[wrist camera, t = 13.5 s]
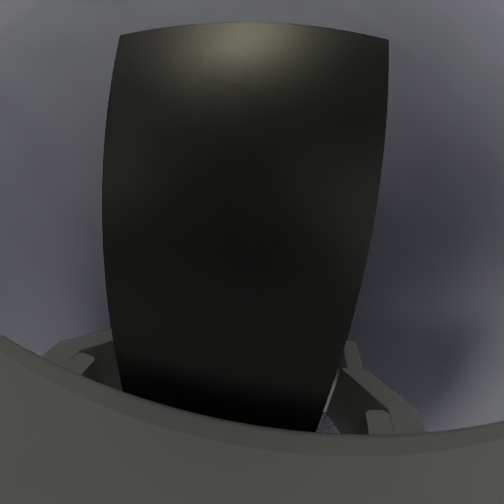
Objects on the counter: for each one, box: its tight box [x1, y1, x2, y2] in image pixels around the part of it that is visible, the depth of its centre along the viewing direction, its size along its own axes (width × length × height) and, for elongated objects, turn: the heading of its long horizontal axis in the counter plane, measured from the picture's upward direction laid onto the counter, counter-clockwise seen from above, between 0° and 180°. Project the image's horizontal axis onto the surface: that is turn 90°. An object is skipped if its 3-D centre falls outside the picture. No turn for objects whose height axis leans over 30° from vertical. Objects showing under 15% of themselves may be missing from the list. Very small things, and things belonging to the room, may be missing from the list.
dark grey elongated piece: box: [102, 22, 389, 432], centre depth 10 cm, size 24×4×7 cm, turn 174°
